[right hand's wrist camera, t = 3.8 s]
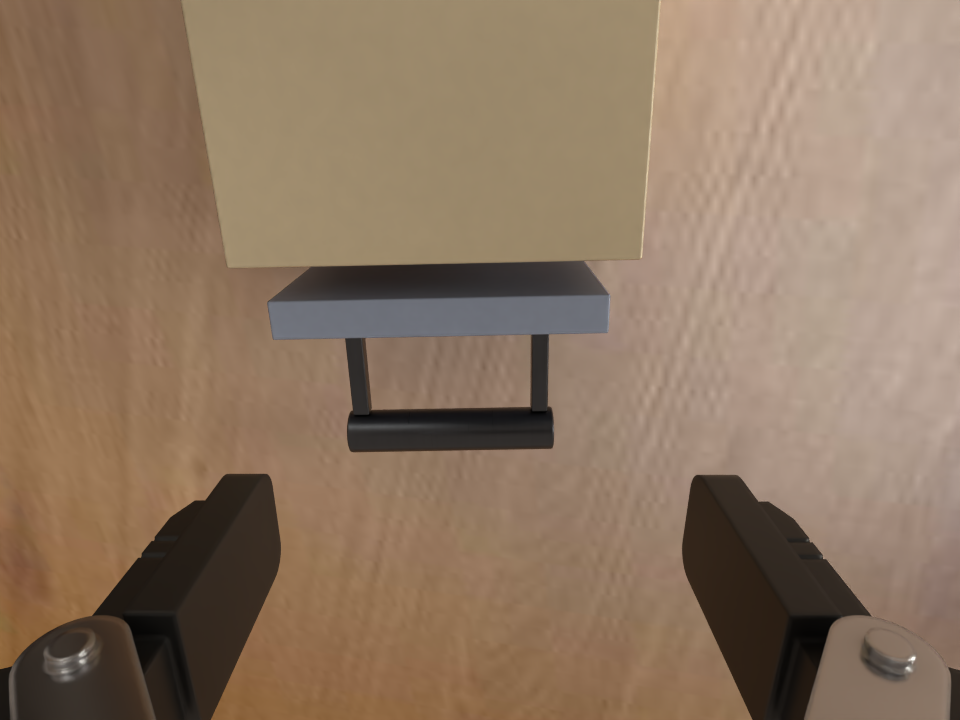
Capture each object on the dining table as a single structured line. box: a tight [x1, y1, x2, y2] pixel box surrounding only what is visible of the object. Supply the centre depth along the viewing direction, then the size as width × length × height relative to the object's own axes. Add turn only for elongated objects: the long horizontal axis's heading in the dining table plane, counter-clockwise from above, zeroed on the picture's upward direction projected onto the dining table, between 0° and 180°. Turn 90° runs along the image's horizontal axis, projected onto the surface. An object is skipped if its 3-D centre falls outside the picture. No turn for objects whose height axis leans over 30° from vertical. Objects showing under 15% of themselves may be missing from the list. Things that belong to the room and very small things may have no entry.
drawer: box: [267, 261, 610, 452], centre depth 19 cm, size 25×10×7 cm, turn 1°
